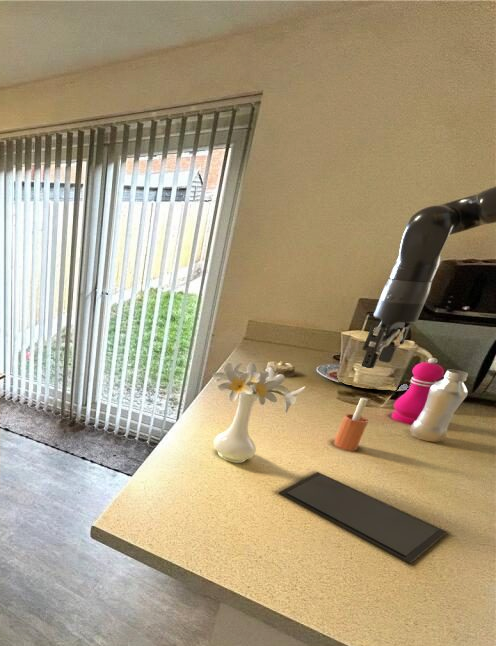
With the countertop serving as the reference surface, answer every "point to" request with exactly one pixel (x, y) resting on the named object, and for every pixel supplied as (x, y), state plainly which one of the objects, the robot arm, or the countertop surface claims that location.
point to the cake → (281, 368)
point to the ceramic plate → (332, 372)
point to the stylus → (359, 409)
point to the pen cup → (350, 432)
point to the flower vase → (247, 407)
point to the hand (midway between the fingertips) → (375, 364)
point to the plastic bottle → (440, 406)
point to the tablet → (365, 516)
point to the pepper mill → (417, 391)
